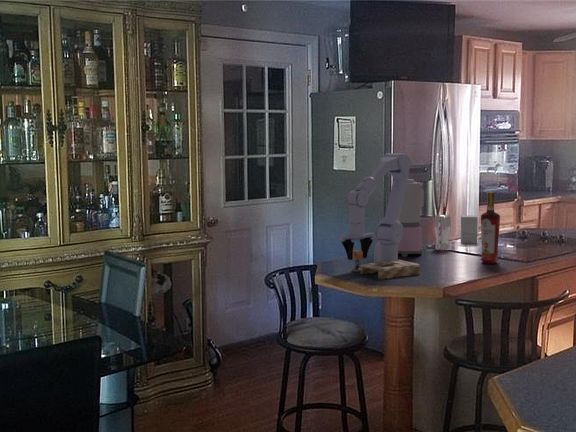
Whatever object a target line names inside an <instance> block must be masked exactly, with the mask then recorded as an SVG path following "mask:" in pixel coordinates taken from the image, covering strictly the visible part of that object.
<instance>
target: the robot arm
mask: <svg viewBox="0 0 576 432" xmlns="http://www.w3.org/2000/svg"><path fill="white" fill-rule="evenodd" d="M411 165H412V160H411V158H410V156H409V154H408V153H406V152H405V153H404V152H402V153H398V152H396V153H391V152H386V153H384V154H383V156H382V157H381V158H380V163H379V164H378V165H377V167H376V168H375V170H373V172H372V173H371V175H370V176H366V177H362V181H361V182H360V183H359V184H358V185H357V186H356V187H355V189H354V190H350V192H348V193H347V195H346V197H345V202H346V204H347V209H348V213H349V215H348V217H349V221H348V222H349V224H348V226H349V227H348V228H349V230H348V231H349V233H348V234H343V235H339V241H340V242H341V244H342V245H343V246H342V247H343V248H344V250H345V254H346V256H347V260H349V261H352V260H353V251H354V246H355V242H354V241H356V240H359V243H360V249H361V250H360V251H363V259H367V256H368V253H369V250H370V248H371V245H372V243H373V239H376V240H377V243H376V244H374V248H373V263H376V262H384V261H392V260H399V258H398V257H399V253H398V243H399V242H400V240H401V239H402V228H403V225H402V224H401V223H400V222H399V216H400V211H401V207H402V203H403V198H404V194H405V190H406V185H407V181H408V179H409V173H410V169H411ZM387 173H388V174H389V175H390V176H392V178H393V181H392V185H391V189H390V192H389V193H390V194H389V197H388V202H387V205H386V210H385V216H384V217H383V218H381V219H380V220H379V221H378V225H377V226H376V227H375V231H374V232H365V230H366V225H365V223H366V221H365V220H366V219H365V217H366V215H365V214H366V213H365V209H366V207H365V206H367V205H368V202H369V199H370V196H371V195H372V193H373V192H374V191H375V190H376V189H377V187H378V183H379V181H380V180H381V179H382V178H383V177H385V175H386V174H387Z"/></svg>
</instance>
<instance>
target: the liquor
mask: <svg viewBox="0 0 576 432" xmlns="http://www.w3.org/2000/svg"><path fill="white" fill-rule="evenodd" d="M486 196H487V197H486V198H487V199H486V200H487V205H486V211H485V212H483V213H482V214H481V215H480V234H481V235H480V236H481V257H480V261H481V262H482V263H483V264H485V265H486V264H487V265H495V264H497V263H498V262H499V258H498V257H499V256H498V254H499V235H500V222H501V215H500V214H499V213H497V212H495V201H494V200H495V192H494V191H487V192H486Z"/></svg>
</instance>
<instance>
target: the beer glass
mask: <svg viewBox="0 0 576 432" xmlns="http://www.w3.org/2000/svg"><path fill="white" fill-rule="evenodd" d="M451 224H452V220H451V215H448V214H436V215H435V217H434V232H435V238H436V239H435V241H436V244H435V250H437V251H450V241H449V240H450V235H451V229H452V225H451Z"/></svg>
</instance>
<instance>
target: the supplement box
mask: <svg viewBox="0 0 576 432" xmlns="http://www.w3.org/2000/svg"><path fill="white" fill-rule="evenodd" d="M478 219H479V217H478V216H477V215H475V214H472V215H471V214H470V215H467V214H465V215H463V214H462V215H460V242H461V244H478V226H479V225H478V222H479V221H478Z"/></svg>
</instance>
